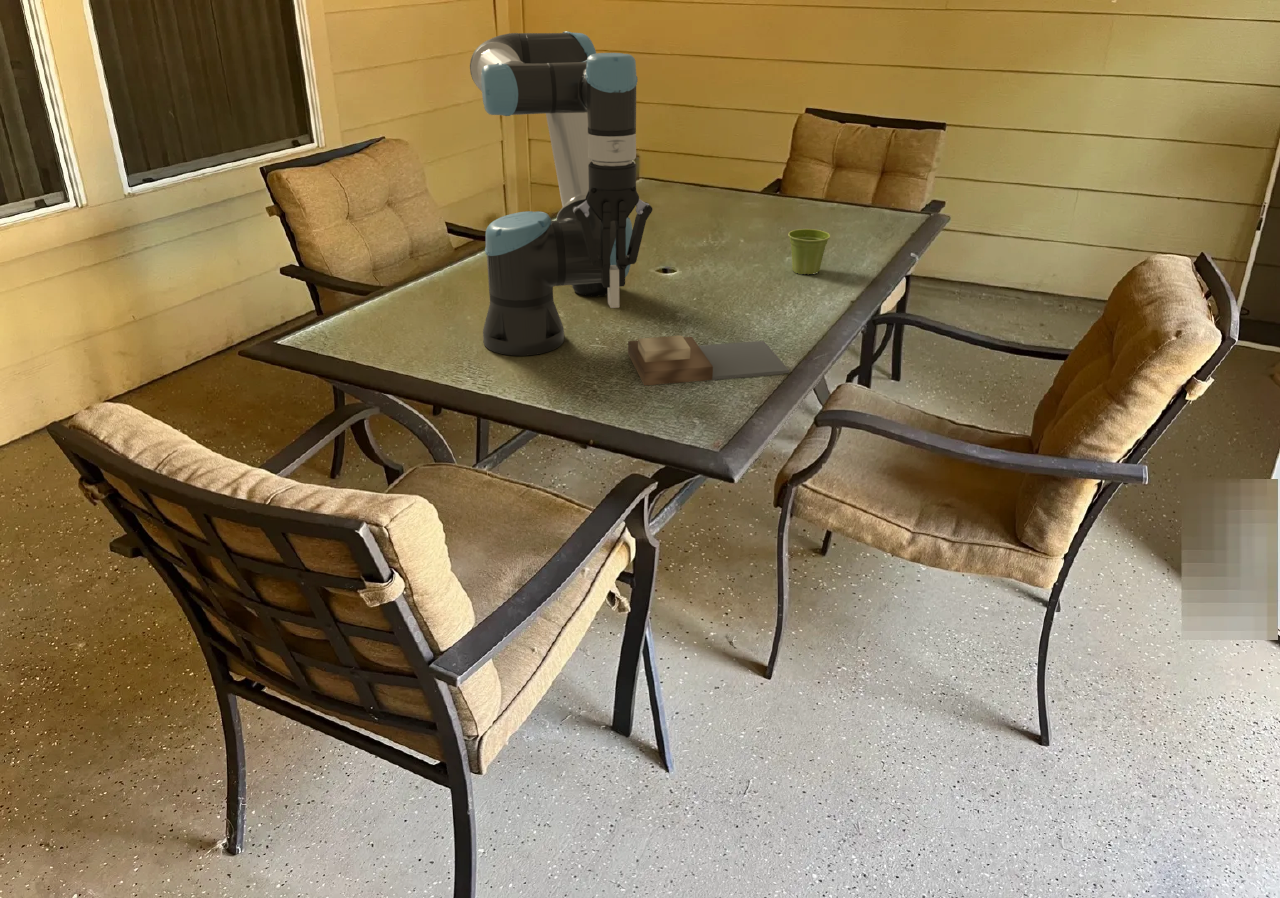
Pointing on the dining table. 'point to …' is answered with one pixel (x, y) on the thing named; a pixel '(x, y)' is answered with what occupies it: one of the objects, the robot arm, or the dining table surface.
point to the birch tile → (663, 348)
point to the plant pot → (807, 249)
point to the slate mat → (743, 360)
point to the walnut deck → (672, 366)
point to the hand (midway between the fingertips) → (613, 304)
